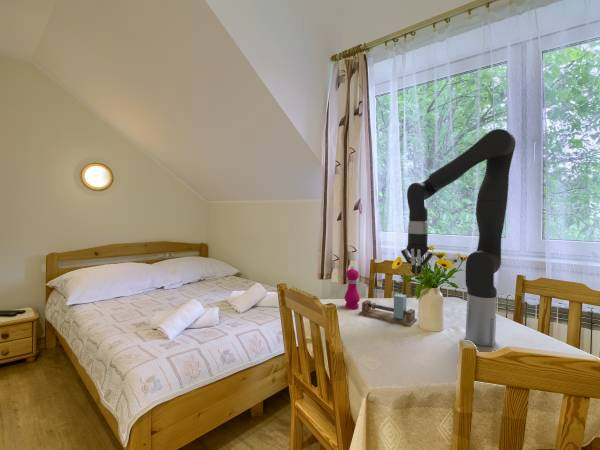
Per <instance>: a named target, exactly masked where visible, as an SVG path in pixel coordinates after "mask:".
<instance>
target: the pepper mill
mask: <svg viewBox="0 0 600 450" xmlns="http://www.w3.org/2000/svg"><path fill="white" fill-rule="evenodd" d="M345 275H346V278H347V280H346V282H347V289H346V292H345V294H344V301H345V305H344V306H345V308H346V309H347V308H348V310H358V309H359V302H360V300H361V296H360V294H359V292H358V291H359V290H358V289H357V284H358V283H359V282H358V278H359V277H360V274H359V271H358V270H357V269H355V266H350V269H348V270H346V274H345ZM357 308H358V309H357Z"/></svg>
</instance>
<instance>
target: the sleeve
mask: <svg viewBox="0 0 600 450" xmlns="http://www.w3.org/2000/svg"><path fill="white" fill-rule="evenodd" d="M407 301H408V300H407V294H401V293H396V294H395V295H393V308H394V312H393V314H394V315H393V317H394V318H398V319H403V317H406V315H405V314H404V310H405V311H407Z"/></svg>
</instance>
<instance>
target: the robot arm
mask: <svg viewBox="0 0 600 450" xmlns="http://www.w3.org/2000/svg"><path fill="white" fill-rule="evenodd" d="M515 148H516V138H515V136H514V135H513V134H512V133H511V132H510V131H507V130H506V129H503V128H495V129H492V130H490V131H488V132H487V133H486V134H484V135H483V136H482V137H481V138H480V139H478V141H476V142H475V143H474V144H473V145H472V146H470V147H469V148H468V149H467V150H465V151H464V152H463V153H461V154H460V155H459V156H457V157H455V158H454V159H453V160H451V161H450V162H448V163H446V164H444V165H443V166H441V167H440V168H438V169H437V170H434V172H432V173H431V174H430V175H429V176H428V178H426V180H424V181H422V182H413V183H411V184H410V185H409V186H408V188H407V190H406V191H407V192H406V198H407V199H406V200H407V205H408V209H409V210H408V211H409V213H408V214H409V215H408V226H407V246H406V248H404V249H401V250H400V253H401V254H402V256H403V258H404V259H405V261H406V263H407V264H410V265H411V273H412V275H418V276H419V275H421V274H422V270H423V267H422V266H425V265H427V264H428V262H429V261H430V260H431V258H432V257H434V255H435V252H433V251H431V250H429V247H428V238H429V237H428V232H429V226H428V214H429V213H428V208H427V207H426V205H425V200H427V199H430V198H431V197H433V196H434V195H435V194H437V192H439V191H440V190H442V189H443V188H445V187H447V186H448V185H451V184H453V182H455V181H457V180H458V179H460V178H461V177H462V176H464V174H466V173H467V172H468V171H469V170H470V169H472V168H474V167H475V166H477V165H478V164H480V163H482V162H484V161H486V164H485V165H486V167H485V173H484V177H483V179H482V182H481V184H480V187H479V190H478V194H477V198H476V199H477V200H476V207H475V218H476V223H477V228H478V229H477V230H478V242H477V248H476V251H473V252H471V253H470V254H468V256H467V258H466V261H465V286H466V289H467V291H466V293H467V294H466V315H465V336H464V337H465V340H466V341H467V340H470V341H472V342H473V343H474V344H473V343H472V344H473V345H477V346H482V347H494V345H495V342H496V333H497V315H496V312H497V293H498V291H497V288H496V287H495V285H494V284H495V281H494V279H495V277H494V275H495V274H496V273H497V272H498V271H499V269H500V268H501V265H502V264H501V263H502V236H503V232H504V225H505V220H506V219H505V217H506V212H507V206H508V195H509V185H510V184H509V182H510V181H509V180H510V179H509V178H510V168H511V164H512V161H513V160H512V159H513V157H514V152H515ZM409 254H410V255H409ZM425 255H426V257H425V258H424V256H425Z"/></svg>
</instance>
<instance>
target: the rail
mask: <svg viewBox="0 0 600 450" xmlns="http://www.w3.org/2000/svg"><path fill="white" fill-rule="evenodd" d="M404 314H405V315H406V317H403V319H398V318H394V317H393V315H394V307H389V306H385V305H381V304H380V305H379V304H377V303H376V302H372V300H369V299H366V300H365V301H363V302H362V303H361V311H359V314H358V315H359V316H363V317H367V318H373V319H376V320H380V321H385V322H388V323H394V324H398V325H402V326H406V327H412V326H413V325H414V324H416V322H418V319H417V318H416V316H415V315H416V310H415V309H412V308H409V309H408V310H406V311H405V310H404Z"/></svg>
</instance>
